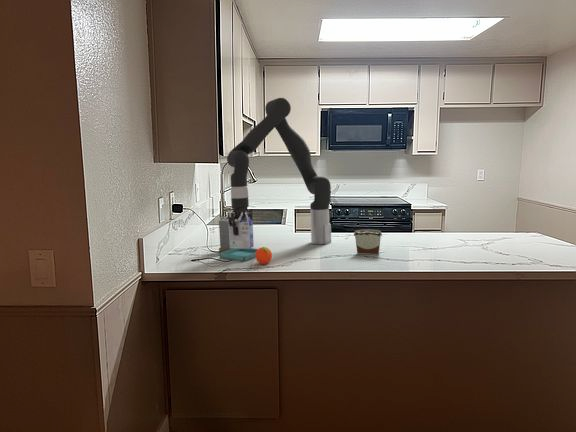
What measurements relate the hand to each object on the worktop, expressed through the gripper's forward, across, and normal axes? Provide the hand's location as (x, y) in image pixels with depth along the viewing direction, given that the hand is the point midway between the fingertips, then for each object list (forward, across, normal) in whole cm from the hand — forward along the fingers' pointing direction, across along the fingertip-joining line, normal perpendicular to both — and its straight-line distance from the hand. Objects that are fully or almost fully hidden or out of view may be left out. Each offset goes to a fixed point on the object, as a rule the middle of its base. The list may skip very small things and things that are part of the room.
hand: (241, 233), depth 181 cm
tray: (+10, 0, 0) cm, 10 cm away
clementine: (+10, -6, -17) cm, 21 cm away
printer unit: (+10, +8, +12) cm, 18 cm away
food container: (+10, +31, -47) cm, 57 cm away
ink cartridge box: (+6, 0, 0) cm, 6 cm away
